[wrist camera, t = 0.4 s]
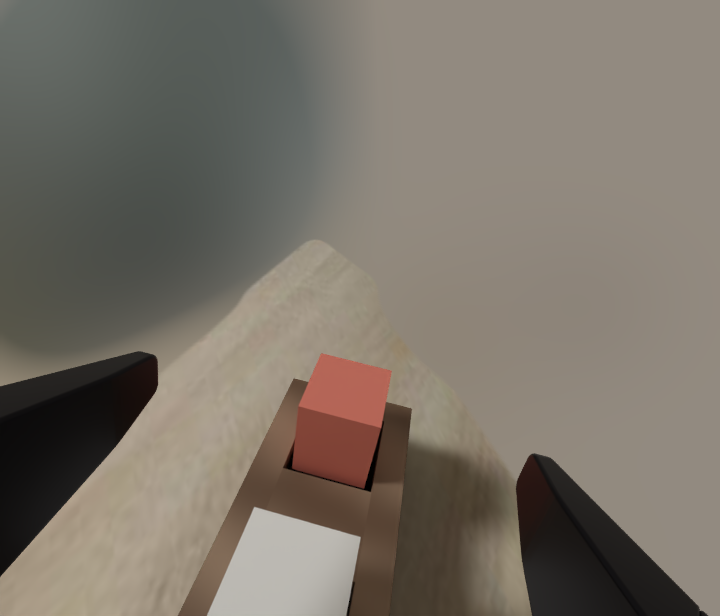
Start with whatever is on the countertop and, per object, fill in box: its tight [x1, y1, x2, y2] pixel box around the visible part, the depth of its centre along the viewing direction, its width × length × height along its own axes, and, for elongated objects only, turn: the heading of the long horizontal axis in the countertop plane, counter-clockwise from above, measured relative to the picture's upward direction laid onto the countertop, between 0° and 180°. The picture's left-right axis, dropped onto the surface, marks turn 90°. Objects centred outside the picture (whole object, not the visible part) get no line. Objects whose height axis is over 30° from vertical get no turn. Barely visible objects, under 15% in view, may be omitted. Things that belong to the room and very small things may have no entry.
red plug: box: [292, 353, 392, 489], centre depth 21 cm, size 4×4×5 cm
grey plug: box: [207, 507, 361, 616], centre depth 14 cm, size 4×4×5 cm
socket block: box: [178, 379, 412, 616], centre depth 20 cm, size 17×8×5 cm, turn 169°
